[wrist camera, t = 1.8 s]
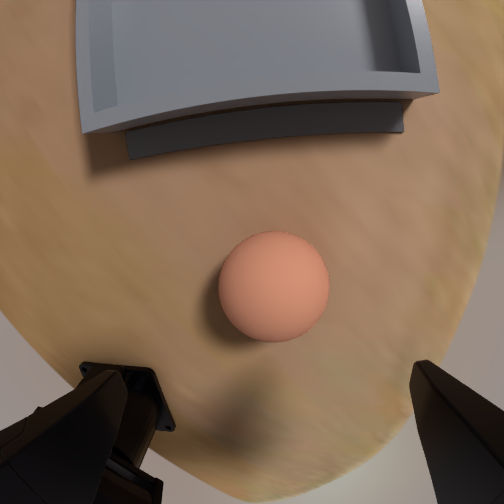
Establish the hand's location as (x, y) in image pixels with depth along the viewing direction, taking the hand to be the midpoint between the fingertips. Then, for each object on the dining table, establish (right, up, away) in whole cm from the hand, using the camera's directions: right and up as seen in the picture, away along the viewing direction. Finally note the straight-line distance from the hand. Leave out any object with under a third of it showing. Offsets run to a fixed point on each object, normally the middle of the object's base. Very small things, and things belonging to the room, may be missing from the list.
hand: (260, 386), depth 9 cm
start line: (0, +10, +6) cm, 12 cm away
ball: (+1, +2, +6) cm, 6 cm away
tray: (-1, +18, +3) cm, 18 cm away
